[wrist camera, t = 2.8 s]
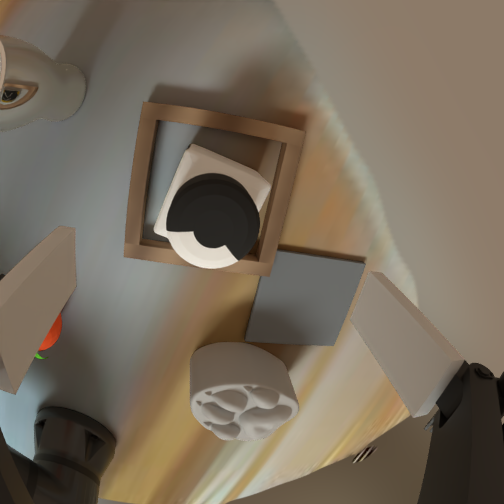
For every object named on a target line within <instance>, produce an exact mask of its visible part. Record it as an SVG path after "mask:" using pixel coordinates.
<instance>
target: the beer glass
mask: <svg viewBox="0 0 504 504" xmlns="http://www.w3.org/2000/svg"><path fill="white" fill-rule="evenodd" d="M85 93H86V80H85V77H84V75H83V73H82V72H81V70H80V69H79V68H77V67H76V66H74V65H72V64H66V63H61V64H57V63H55V62H54V61H53V60H52V59H51V58H50V57H49V56H48V55H47V54H46V53H45V52H43V51H42V50H40V49H39V48H38V47H36V46H35V45H33V44H30V43H28V42H26V41H24V40H21V39H17V38H14V37H9V36H4V35H0V133H1V132H6V131H10V130H14V129H16V128H19V127H22V126H25V125H27V124H29V123H31V122H34V121H36V120H38V119H41V118H43V119H45V120H47V121H51V122H59V121H63V120H66V119H67V118H69V117H71V116H72V115H73V114H74V113H75V112H76V111H77V110H78V109H79V107H80V106H81V104H82V102H83V100H84V97H85Z"/></svg>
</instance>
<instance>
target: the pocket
mask: <svg viewBox="0 0 504 504" xmlns="http://www.w3.org/2000/svg"><path fill="white" fill-rule="evenodd" d="M159 120H163V121H171V122H178V123H185V124H192V125H198V126H204V127H210V128H216V129H221V130H227V131H232V132H237V133H242V134H247V135H252V136H257V137H262V138H266V139H271V140H275V141H280V142H282V146H281V151H280V155H279V159H278V164H277V168H276V172H275V176H274V181H273V185H272V189H271V193H270V198H269V202H268V206H267V211H266V215H265V219H264V223H263V228H262V232H261V236H260V240H259V245H258V249H257V253H256V255H253V254H247V255H246V256H244V257H243V258H242V259H241V260H239V261H238V262H236V263H234V264H232V265H229V266H226V267H223V268H216V269H212V270H220V271H227V272H235V273H242V274H250V275H258V276H266V277H270V274H271V270H272V266H273V262H274V259H275V255H276V251H277V247H278V243H279V239H280V235H281V231H282V228H283V224H284V220H285V216H286V212H287V208H288V204H289V200H290V196H291V192H292V188H293V184H294V179H295V175H296V171H297V167H298V163H299V159H300V155H301V151H302V146H303V142H304V138H305V134H306V132H305V131H301V130H297V129H293V128H289V127H285V126H281V125H277V124H273V123H269V122H264V121H260V120H255V119H250V118H246V117H241V116H236V115H230V114H225V113H220V112H214V111H208V110H202V109H196V108H190V107H183V106H176V105H168V104H160V103H152V102H143V106H142V111H141V116H140V122H139V127H138V133H137V139H136V145H135V152H134V159H133V166H132V173H131V181H130V189H129V198H128V208H127V218H126V230H125V244H124V257H127V258H134V259H141V260H148V261H155V262H162V263H169V264H176V265H183V266H190V267H197V268H202V267H198V266H195V265H193V264H190V263H189V262H187V261H185V260H184V259H183V258H181V257H180V256H179V255H178V254H177V253H176V251H175V250H174V249H173V247H172V245H171V243H170V242H163V241H156V240H149V239H142V236H143V226H144V217H145V208H146V200H147V192H148V184H149V177H150V170H151V164H152V157H153V151H154V145H155V139H156V134H157V128H158V123H159ZM205 269H209V268H205Z"/></svg>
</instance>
